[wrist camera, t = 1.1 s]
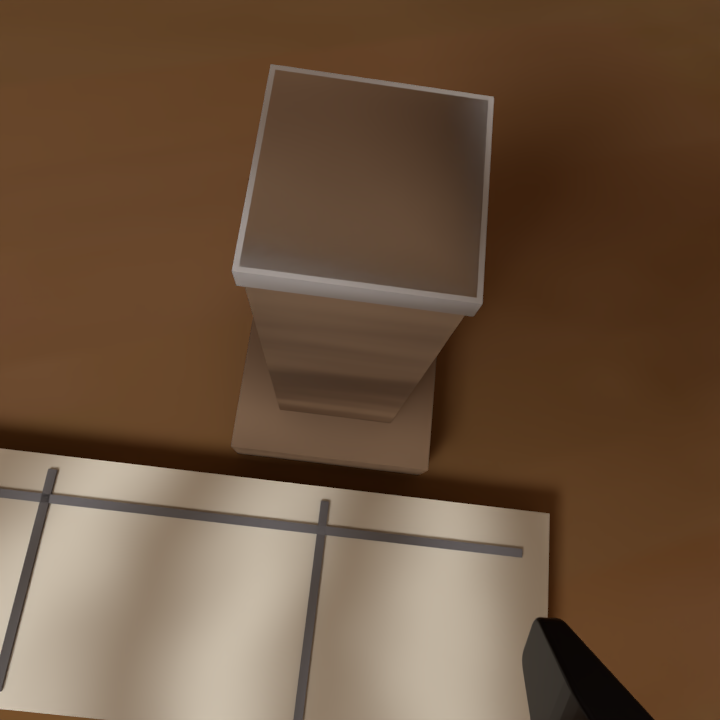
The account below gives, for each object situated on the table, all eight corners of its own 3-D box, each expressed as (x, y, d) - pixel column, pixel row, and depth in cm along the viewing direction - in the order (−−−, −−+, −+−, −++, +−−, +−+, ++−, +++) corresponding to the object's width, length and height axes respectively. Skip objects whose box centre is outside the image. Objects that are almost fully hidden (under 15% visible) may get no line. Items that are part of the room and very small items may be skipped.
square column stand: (418, 475, 23) (562, 395, 10) (237, 453, 23) (127, 339, 9) (432, 307, 25) (568, 47, 12) (266, 285, 25) (208, -7, 11)
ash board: (537, 514, 23) (550, 513, 22) (532, 751, 21) (546, 765, 19) (-155, 432, 22) (-184, 426, 21) (-241, 672, 20) (-279, 681, 18)
